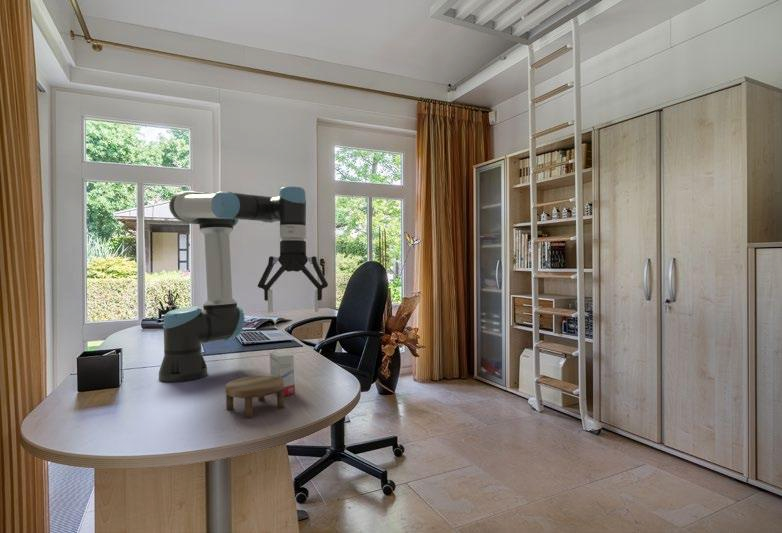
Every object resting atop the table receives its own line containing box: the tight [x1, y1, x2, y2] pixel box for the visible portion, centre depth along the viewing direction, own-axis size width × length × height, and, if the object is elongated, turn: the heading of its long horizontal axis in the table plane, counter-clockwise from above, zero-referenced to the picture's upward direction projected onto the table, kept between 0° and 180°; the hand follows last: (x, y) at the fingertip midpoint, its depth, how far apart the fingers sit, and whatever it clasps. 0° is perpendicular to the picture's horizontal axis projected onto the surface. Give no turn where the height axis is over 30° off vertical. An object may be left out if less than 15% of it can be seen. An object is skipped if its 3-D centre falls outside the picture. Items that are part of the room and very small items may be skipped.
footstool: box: [225, 375, 285, 419], centre depth 116 cm, size 15×15×7 cm
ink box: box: [269, 349, 296, 397], centre depth 130 cm, size 9×5×12 cm, turn 33°
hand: (293, 311), depth 127 cm, fingers open, 13 cm apart
